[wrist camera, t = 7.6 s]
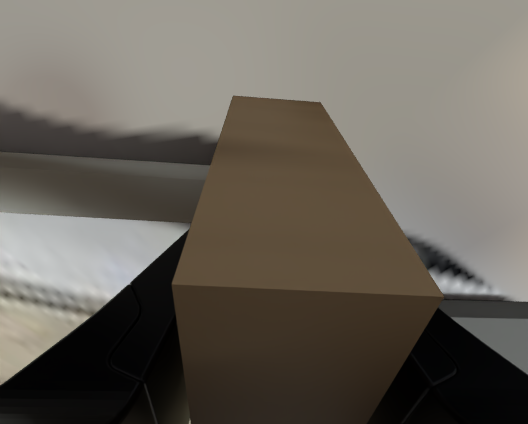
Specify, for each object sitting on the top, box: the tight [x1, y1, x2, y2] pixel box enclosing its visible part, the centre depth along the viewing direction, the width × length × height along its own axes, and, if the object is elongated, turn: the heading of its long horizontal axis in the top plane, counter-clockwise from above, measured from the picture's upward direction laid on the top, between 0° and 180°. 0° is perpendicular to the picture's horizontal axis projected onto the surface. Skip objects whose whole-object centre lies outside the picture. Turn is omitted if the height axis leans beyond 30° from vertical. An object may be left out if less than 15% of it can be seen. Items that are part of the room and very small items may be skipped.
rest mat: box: [438, 300, 528, 374], centre depth 17 cm, size 10×18×1 cm, turn 86°
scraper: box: [0, 96, 444, 424], centre depth 7 cm, size 7×14×7 cm, turn 86°
